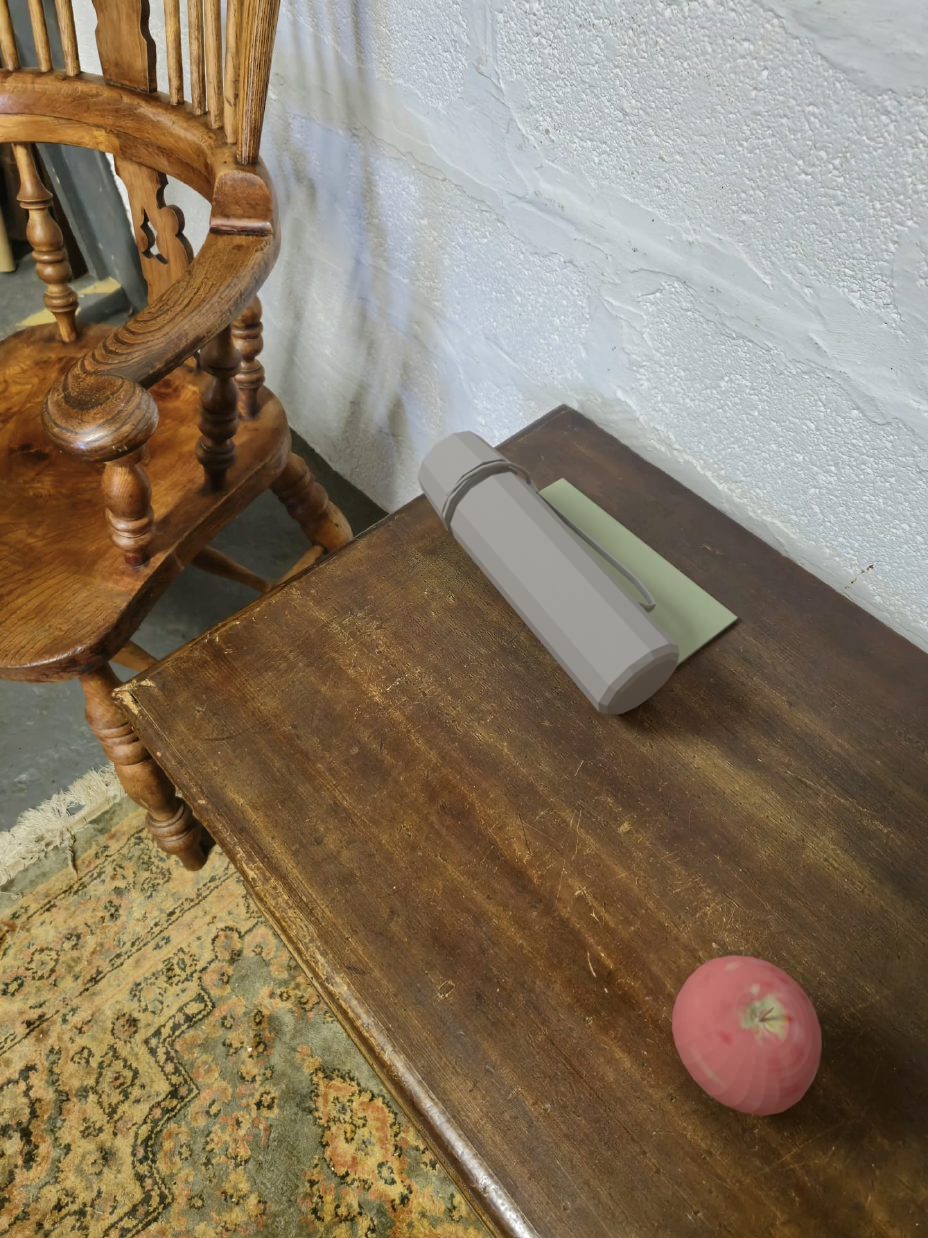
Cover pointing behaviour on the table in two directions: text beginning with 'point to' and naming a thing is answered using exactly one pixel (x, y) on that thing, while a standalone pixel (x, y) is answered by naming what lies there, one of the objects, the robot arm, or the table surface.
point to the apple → (747, 1034)
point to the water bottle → (549, 574)
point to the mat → (646, 573)
